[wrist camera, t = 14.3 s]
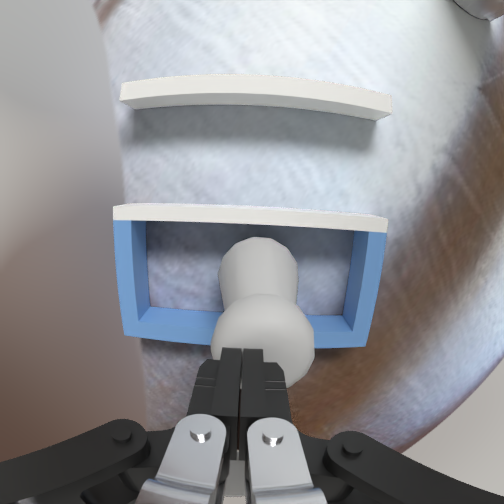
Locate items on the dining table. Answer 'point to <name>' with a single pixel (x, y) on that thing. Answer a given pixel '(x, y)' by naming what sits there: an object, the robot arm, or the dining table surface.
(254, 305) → the salt shaker
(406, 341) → the dining table surface
